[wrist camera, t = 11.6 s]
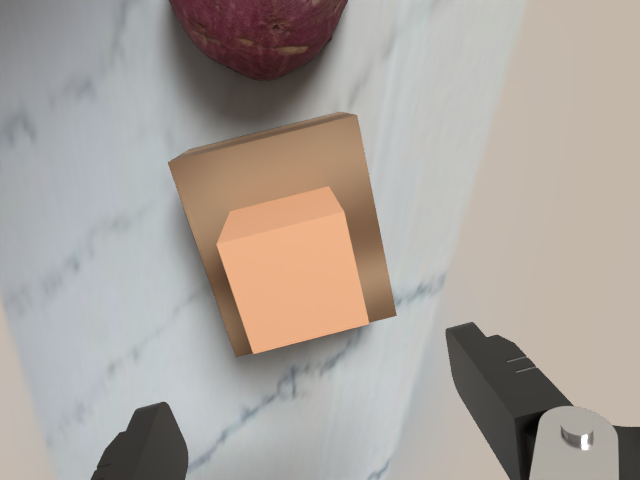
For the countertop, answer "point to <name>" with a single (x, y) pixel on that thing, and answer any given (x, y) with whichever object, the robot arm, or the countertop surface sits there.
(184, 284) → the countertop surface
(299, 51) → the vegetable
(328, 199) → the block
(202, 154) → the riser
